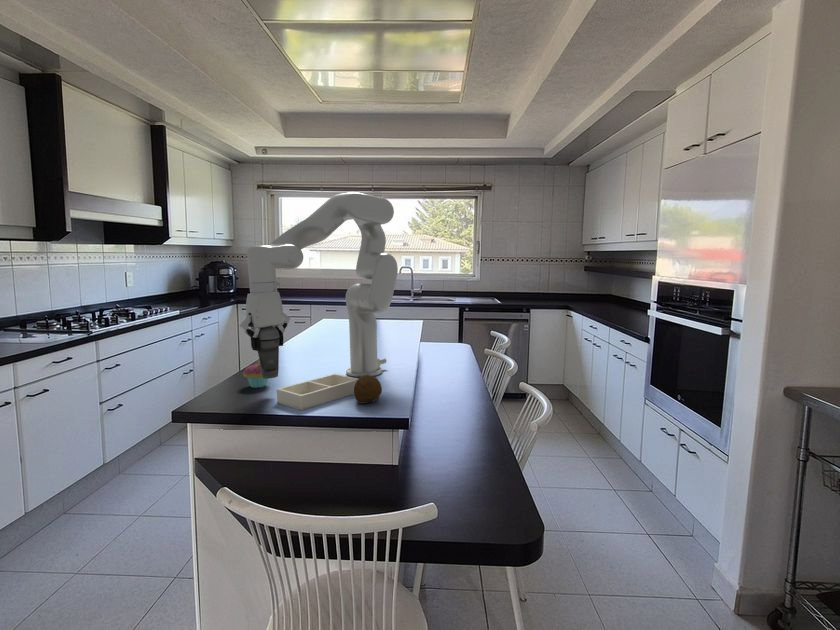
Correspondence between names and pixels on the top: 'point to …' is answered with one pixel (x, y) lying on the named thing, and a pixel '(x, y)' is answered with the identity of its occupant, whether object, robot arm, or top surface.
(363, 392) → the potato
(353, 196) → the robot arm
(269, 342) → the beverage cup
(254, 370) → the cupcake
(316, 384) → the cup carrier
